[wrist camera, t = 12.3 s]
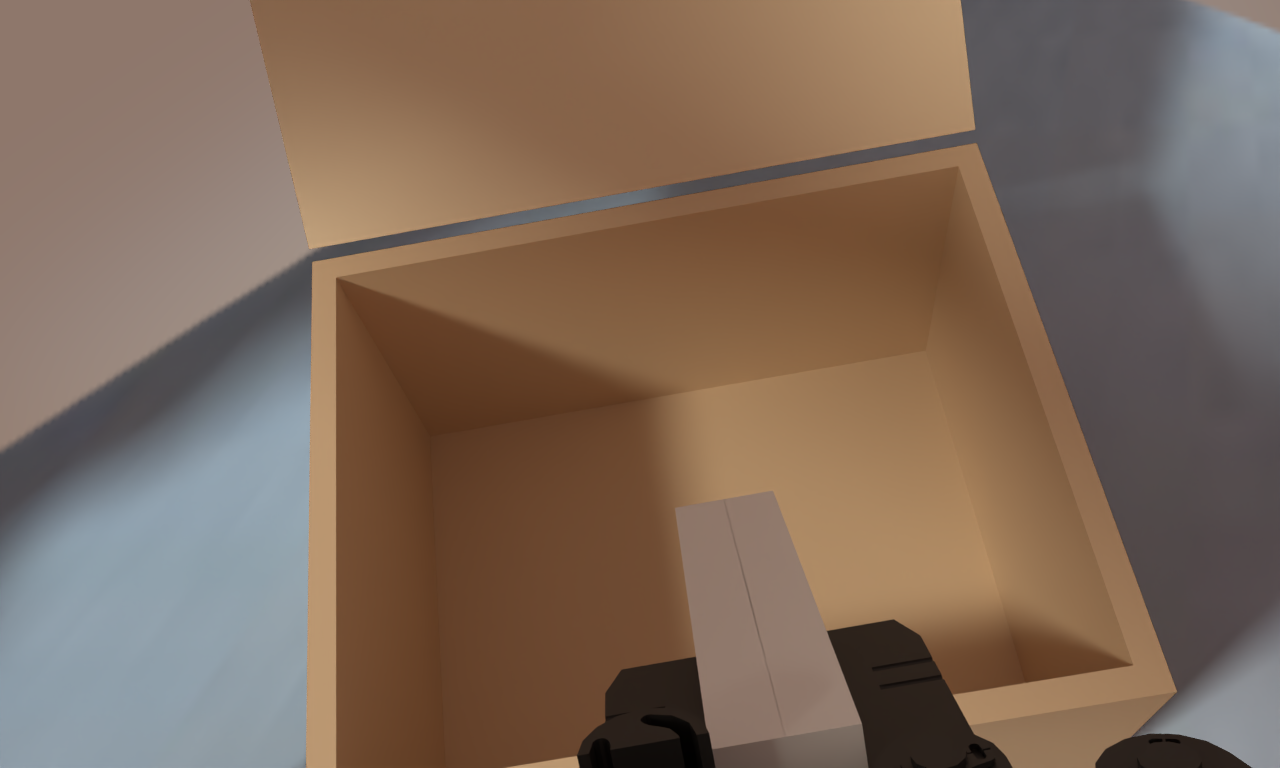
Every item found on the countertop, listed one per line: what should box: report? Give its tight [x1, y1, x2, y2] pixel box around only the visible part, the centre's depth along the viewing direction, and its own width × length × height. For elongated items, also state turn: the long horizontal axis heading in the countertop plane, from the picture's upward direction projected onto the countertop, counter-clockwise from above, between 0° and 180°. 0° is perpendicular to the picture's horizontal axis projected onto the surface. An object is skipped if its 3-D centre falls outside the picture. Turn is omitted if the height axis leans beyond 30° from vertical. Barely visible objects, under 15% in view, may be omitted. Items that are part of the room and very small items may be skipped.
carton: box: [306, 143, 1177, 768], centre depth 39 cm, size 18×22×12 cm
